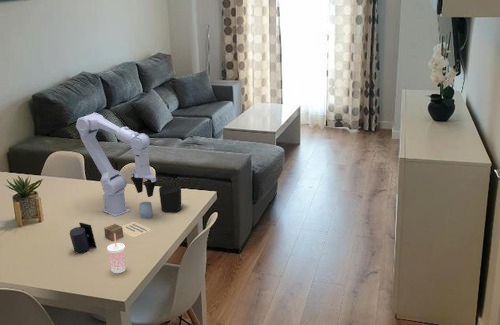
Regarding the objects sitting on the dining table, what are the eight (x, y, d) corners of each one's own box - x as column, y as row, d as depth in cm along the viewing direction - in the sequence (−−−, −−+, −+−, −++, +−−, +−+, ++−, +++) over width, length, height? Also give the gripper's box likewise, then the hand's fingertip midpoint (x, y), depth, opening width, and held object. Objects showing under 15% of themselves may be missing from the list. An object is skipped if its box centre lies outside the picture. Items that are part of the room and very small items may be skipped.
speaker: (89, 242, 212) (84, 219, 208) (96, 248, 208) (92, 224, 204) (71, 250, 208) (65, 227, 203) (78, 256, 204) (73, 232, 199)
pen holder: (164, 215, 236) (162, 193, 232) (158, 207, 244) (156, 186, 240) (185, 211, 239) (183, 190, 236) (178, 203, 247) (177, 182, 244)
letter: (115, 229, 224) (115, 228, 224) (134, 221, 230) (133, 221, 230) (133, 237, 216) (133, 237, 216) (151, 230, 222) (151, 229, 222)
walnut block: (105, 238, 216) (104, 227, 215) (115, 233, 220) (114, 223, 218) (112, 242, 213) (111, 231, 212) (123, 237, 217) (122, 227, 215)
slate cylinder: (138, 217, 234) (137, 204, 232) (147, 213, 238) (146, 200, 236) (145, 220, 231) (144, 207, 229) (154, 216, 234) (153, 203, 233)
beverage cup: (126, 273, 190) (122, 237, 185) (108, 274, 190) (103, 238, 185) (128, 264, 196) (124, 229, 191) (111, 265, 195) (107, 230, 191)
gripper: (123, 162, 228) (126, 193, 233) (145, 169, 219) (148, 201, 223) (137, 158, 233) (140, 188, 238) (159, 165, 224) (161, 196, 228)
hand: (145, 194), depth 231 cm, fingers open, 6 cm apart
